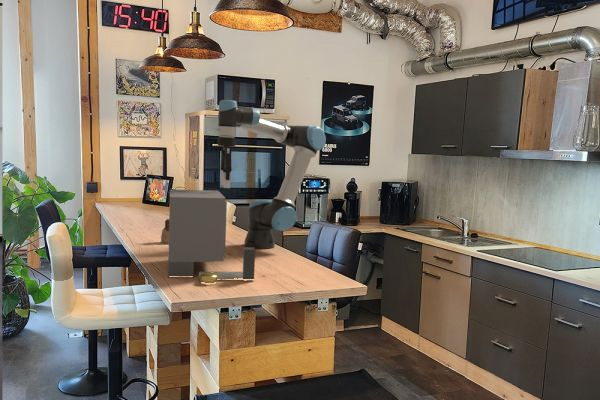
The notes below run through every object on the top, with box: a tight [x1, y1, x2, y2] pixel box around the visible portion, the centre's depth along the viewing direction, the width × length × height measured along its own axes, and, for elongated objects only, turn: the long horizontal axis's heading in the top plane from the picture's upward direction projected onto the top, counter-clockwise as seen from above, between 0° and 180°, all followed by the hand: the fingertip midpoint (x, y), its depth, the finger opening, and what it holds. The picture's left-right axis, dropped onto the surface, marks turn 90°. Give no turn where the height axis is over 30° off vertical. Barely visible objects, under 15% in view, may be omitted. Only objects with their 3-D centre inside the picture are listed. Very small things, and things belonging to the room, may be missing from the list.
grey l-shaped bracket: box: [198, 246, 256, 280], centre depth 182 cm, size 20×4×12 cm, turn 100°
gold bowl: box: [200, 273, 218, 283], centre depth 177 cm, size 6×6×3 cm
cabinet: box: [167, 189, 228, 277], centre depth 196 cm, size 22×28×30 cm
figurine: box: [160, 218, 169, 245], centre depth 242 cm, size 7×7×12 cm
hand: (225, 186), depth 212 cm, fingers open, 13 cm apart
